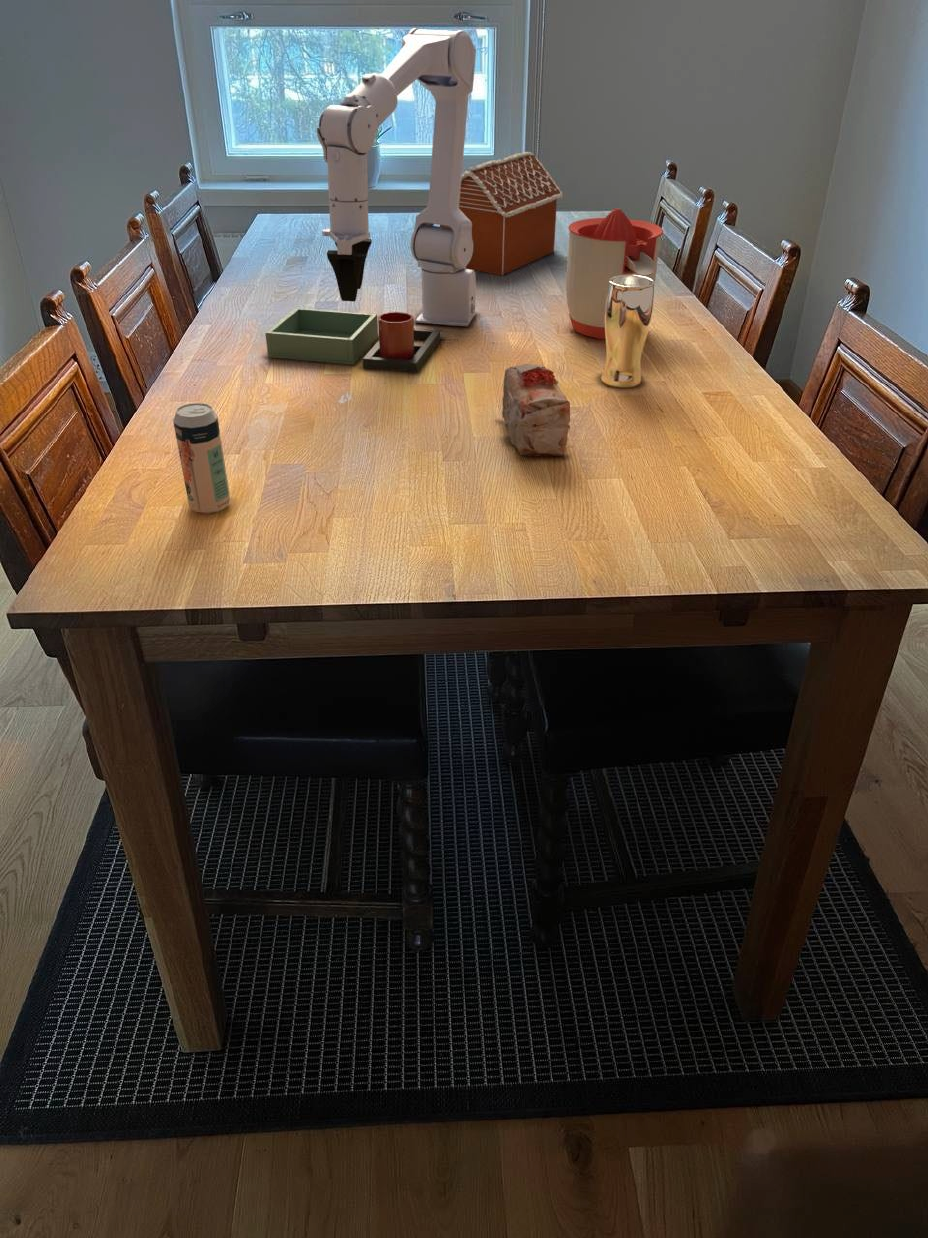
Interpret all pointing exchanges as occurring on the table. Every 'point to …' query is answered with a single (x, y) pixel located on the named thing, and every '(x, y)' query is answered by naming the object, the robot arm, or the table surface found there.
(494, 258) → the gingerbread house
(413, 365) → the frame
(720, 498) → the table surface
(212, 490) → the beer can
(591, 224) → the citrus juicer
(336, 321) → the basin
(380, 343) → the cup
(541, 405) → the food item
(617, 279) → the beer glass
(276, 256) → the table surface
